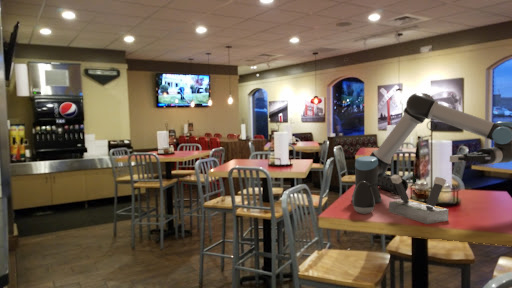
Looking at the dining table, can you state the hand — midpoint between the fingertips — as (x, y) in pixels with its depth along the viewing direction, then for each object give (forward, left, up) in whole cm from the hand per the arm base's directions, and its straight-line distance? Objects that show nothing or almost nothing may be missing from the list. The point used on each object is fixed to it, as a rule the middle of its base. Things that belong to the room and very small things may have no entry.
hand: (451, 159), depth 172 cm
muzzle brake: (-58, +16, -26) cm, 66 cm away
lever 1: (-14, -12, -20) cm, 28 cm away
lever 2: (0, -12, -20) cm, 24 cm away
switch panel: (-7, -12, -26) cm, 30 cm away
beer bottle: (-51, +33, -26) cm, 66 cm away
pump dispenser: (-23, -29, -26) cm, 46 cm away
